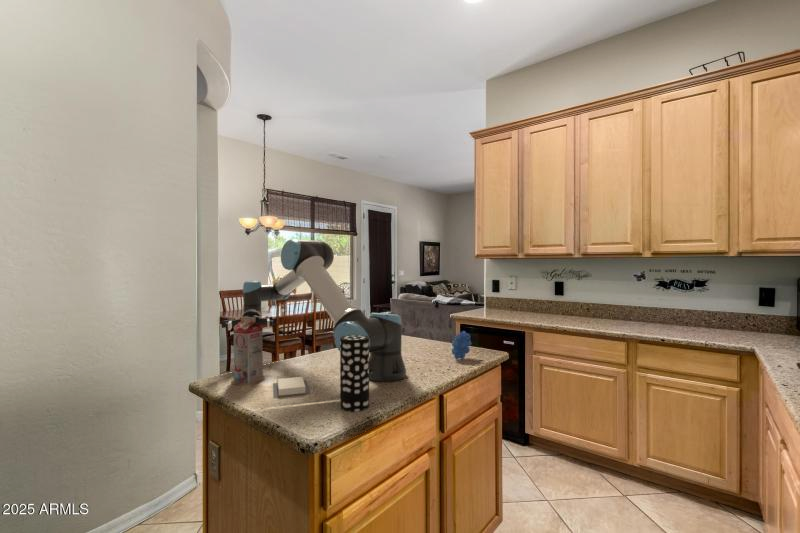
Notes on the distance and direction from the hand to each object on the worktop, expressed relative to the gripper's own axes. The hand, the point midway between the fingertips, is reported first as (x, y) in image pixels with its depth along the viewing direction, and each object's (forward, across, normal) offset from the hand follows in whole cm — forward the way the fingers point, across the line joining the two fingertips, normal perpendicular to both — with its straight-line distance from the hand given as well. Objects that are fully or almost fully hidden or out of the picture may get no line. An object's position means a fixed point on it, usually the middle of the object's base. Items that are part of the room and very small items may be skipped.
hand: (249, 325), depth 142 cm
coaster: (+9, 0, -18) cm, 20 cm away
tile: (+18, -14, -17) cm, 29 cm away
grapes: (+2, -86, -20) cm, 88 cm away
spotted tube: (+43, -30, -20) cm, 56 cm away
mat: (+22, -14, -19) cm, 32 cm away
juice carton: (+9, 0, -18) cm, 20 cm away
